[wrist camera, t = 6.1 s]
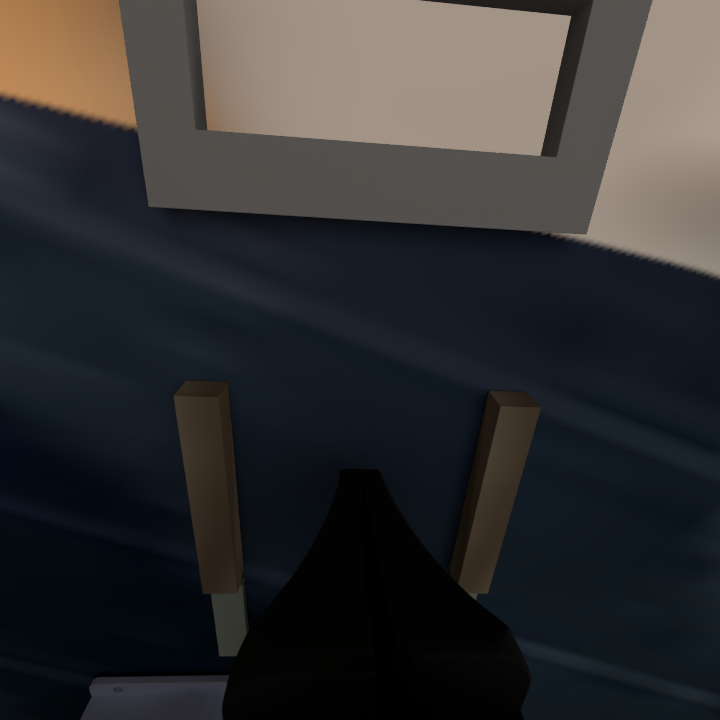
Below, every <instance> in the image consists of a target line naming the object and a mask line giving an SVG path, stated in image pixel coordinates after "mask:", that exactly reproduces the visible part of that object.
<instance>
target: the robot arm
mask: <svg viewBox="0 0 720 720" xmlns="http://www.w3.org/2000/svg"><path fill="white" fill-rule="evenodd" d="M530 682H531V675H530V672H529V669H528V666H527V663H526V661H525V659H524V656H523V654H522V652H521V650H520V648H519V646H518V644H517V642H516V640H515V638H514V636H513V635H512V633H511V631H510V629H509V627H508V626H507V625H506V624H505V623H503V622H502V621H501V620H499V619H498V618H497V617H496V616H494V615H493V614H492V613H491V612H489V611H488V610H487V609H486V608H484V607H483V606H482V605H481V604H479V603H478V602H477V601H476V600H475V599H474V598H473V597H472V596H470V595H469V594H468V593H467V592H466V591H465V590H464V589H463V588H462V587H461V586H460V585H459V584H458V583H457V582H456V581H455V580H454V579H453V578H452V577H451V576H450V575H449V574H448V573H447V572H446V571H445V570H444V569H443V568H442V567H441V565H440V564H439V563H438V562H437V561H436V560H435V559H434V557H433V556H432V555H431V554H430V553H429V551H428V550H427V549H426V548H425V547H424V545H423V544H422V543H421V541H420V540H419V539H418V537H417V536H416V535H415V533H414V532H413V530H412V529H411V527H410V526H409V525H408V523H407V521H406V520H405V518H404V517H403V515H402V514H401V512H400V510H399V509H398V507H397V505H396V504H395V502H394V500H393V498H392V496H391V495H390V493H389V491H388V489H387V487H386V485H385V483H384V480H383V478H382V476H381V473H380V472H379V471H378V470H370V469H343V470H342V471H340V479H339V484H338V488H337V491H336V494H335V497H334V500H333V502H332V505H331V508H330V510H329V513H328V515H327V517H326V519H325V521H324V524H323V526H322V528H321V530H320V532H319V534H318V536H317V538H316V540H315V541H314V543H313V545H312V547H311V548H310V550H309V552H308V553H307V555H306V557H305V558H304V560H303V561H302V563H301V564H300V566H299V567H298V569H297V570H296V572H295V573H294V575H293V576H292V578H291V579H290V580H289V582H288V583H287V584H286V586H285V587H284V588H283V589H282V591H281V592H280V593H279V595H278V596H277V597H276V599H275V600H274V601H273V602H272V603H271V605H270V606H269V607H268V608H267V609H266V610H265V611H264V612H263V614H262V615H261V616H260V617H259V618H258V619H257V620H256V621H255V622H254V624H253V625H252V626H251V627H250V628H249V630H248V632H247V634H246V636H245V638H244V640H243V642H242V644H241V647H240V649H239V651H238V653H237V656H236V658H235V660H234V663H233V666H232V669H231V671H230V674H229V675H189V676H124V677H98V678H95V679H94V680H93V681H92V683H91V685H90V687H89V690H90V692H91V695H92V697H91V699H90V701H89V703H88V705H87V707H86V709H85V711H84V713H83V715H82V717H81V719H80V720H524V719H523V716H522V713H521V710H520V709H521V707H522V705H523V702H524V700H525V697H526V695H527V692H528V690H529V687H530Z"/></svg>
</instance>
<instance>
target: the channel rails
mask: <svg viewBox="0 0 720 720" xmlns="http://www.w3.org/2000/svg"><path fill="white" fill-rule="evenodd" d="M174 402H175V409H176V416H177V422H178V429H179V436H180V442H181V449H182V456H183V463H184V469H185V476H186V483H187V490H188V496H189V503H190V510H191V516H192V523H193V530H194V537H195V543H196V550H197V557H198V564H199V570H200V577H201V584H202V590H203V594H237V593H238V589H239V585H240V582H241V578H242V574H243V570H244V567H243V555H242V543H241V531H240V519H239V507H238V495H237V483H236V471H235V459H234V447H233V435H232V423H231V411H230V399H229V387H228V382H222V381H193V380H187V381H186V382H185V383H184V384H183V385H182V387H181V388H180V389H179V390H178V391H177V392H176V394H175V395H174ZM540 409H541V407H540V406H539V405H538V404H537V403H536V402H535V401H534V400H533V399H532V398H531V397H530V396H529V395H528V393H527V392H510V391H489V393H488V397H487V402H486V407H485V411H484V416H483V420H482V425H481V429H480V434H479V438H478V443H477V447H476V452H475V456H474V461H473V466H472V470H471V475H470V479H469V484H468V488H467V493H466V497H465V502H464V506H463V511H462V516H461V520H460V525H459V529H458V534H457V538H456V543H455V547H454V552H453V556H452V561H451V565H450V574H451V577H452V578H453V579H454V580H455V581H456V582H457V583H458V584H459V585H460V586H461V587H462V588H463V589H464V590H465V591H466V592H467V593H488V591H489V587H490V584H491V580H492V577H493V573H494V570H495V566H496V563H497V559H498V556H499V552H500V549H501V545H502V542H503V538H504V535H505V531H506V528H507V524H508V521H509V517H510V514H511V510H512V507H513V503H514V500H515V496H516V493H517V489H518V486H519V482H520V479H521V475H522V472H523V468H524V465H525V461H526V458H527V454H528V451H529V447H530V444H531V440H532V437H533V433H534V430H535V426H536V423H537V419H538V416H539V412H540Z"/></svg>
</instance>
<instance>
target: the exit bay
mask: <svg viewBox="0 0 720 720" xmlns="http://www.w3.org/2000/svg"><path fill="white" fill-rule="evenodd" d="M468 594H469V595H470V596H472V597H473V598H474V599H475V600H476V597H477V594H478V593H468ZM211 597H212V604H213V612H214V619H215V626H216V634H217V641H218V648H219V656H237V653H238V651H239V649H240V647H241V644H242V642H243V640H244V638H245V636H246V634H247V632H248V630H249V627H248V615H247V603H246V591H245V579H244V577H242V578H241V582H240V585H239V589H238V593H237V594H211Z"/></svg>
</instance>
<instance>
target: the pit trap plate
mask: <svg viewBox="0 0 720 720" xmlns="http://www.w3.org/2000/svg"><path fill="white" fill-rule="evenodd" d="M423 1H432V2H443V3H452V4H461V5H471V6H481V7H490V8H501V9H510V10H520V11H529V12H539V13H549V14H559V15H568V16H571V20H570V25H569V30H568V35H567V39H566V44H565V48H564V52H563V57H562V62H561V66H560V71H559V75H558V80H557V84H556V89H555V93H554V98H553V103H552V107H551V111H550V116H549V121H548V125H547V130H546V135H545V139H544V143H543V148H542V152H541V156H532V155H518V154H506V153H493V152H480V151H467V150H454V149H441V148H428V147H415V146H403V145H390V144H376V143H363V142H351V141H350V142H349V141H338V140H337V141H336V140H324V139H312V138H299V137H285V136H273V135H260V134H246V133H234V132H220V131H208V130H207V124H206V112H205V100H204V88H203V77H202V64H201V52H200V40H199V28H198V16H197V4H196V0H119V5H120V12H121V19H122V26H123V32H124V39H125V46H126V53H127V59H128V67H129V74H130V81H131V88H132V94H133V101H134V108H135V115H136V122H137V129H138V136H139V143H140V149H141V156H142V163H143V170H144V177H145V184H146V191H147V198H148V204H149V207H163V208H178V209H194V210H210V211H225V212H241V213H257V214H273V215H288V216H304V217H320V218H335V219H351V220H367V221H382V222H398V223H414V224H430V225H445V226H461V227H477V228H492V229H508V230H524V231H540V232H555V233H571V234H587V230H588V227H589V223H590V220H591V216H592V213H593V209H594V206H595V202H596V199H597V195H598V192H599V188H600V184H601V181H602V177H603V174H604V170H605V167H606V163H607V160H608V156H609V152H610V148H611V145H612V142H613V138H614V135H615V131H616V128H617V124H618V121H619V117H620V114H621V110H622V106H623V103H624V99H625V96H626V92H627V89H628V85H629V82H630V78H631V75H632V71H633V68H634V64H635V60H636V56H637V53H638V49H639V46H640V43H641V39H642V36H643V32H644V28H645V25H646V21H647V18H648V14H649V11H650V7H651V4H652V0H423Z"/></svg>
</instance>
